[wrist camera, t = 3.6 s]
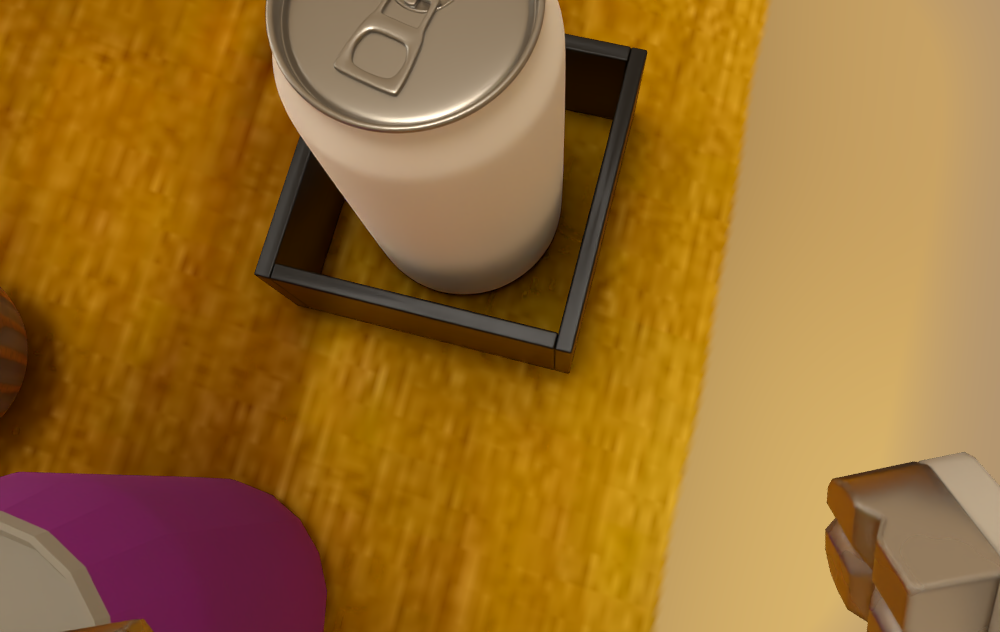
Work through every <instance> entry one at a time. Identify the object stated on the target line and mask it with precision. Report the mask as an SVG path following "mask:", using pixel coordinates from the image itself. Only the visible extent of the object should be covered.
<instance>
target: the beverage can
mask: <svg viewBox="0 0 1000 632" xmlns="http://www.w3.org/2000/svg"><path fill="white" fill-rule="evenodd" d="M326 598H327V589H326V584H325V580H324V575H323V570H322V565H321V560H320V556H319V552H318V550H317V549H316V547H315V545H314V543H313V542H312V540H311V538H310V536H309V535H308V533H307V531H306V529H305V528H304V526H303V524H302V522H301V521H300V519H299V518H297V517H296V516H295V515H294V514H293V513H292V512H291V511H290V510H288V509H287V508H286V507H285V506H284V505H283V504H282V503H281V502H279V501H278V500H277V499H276V498H275V497H274V496H273V495H270V494H268V493H265V492H263V491H260V490H258V489H255V488H253V487H251V486H248V485H246V484H243V483H241V482H238V481H235V480H232V479H219V478H200V477H172V476H138V475H105V474H72V473H38V472H17V473H13V474H9V475H6V476H2V477H0V632H63V631H69V630H75V629H81V628H87V627H92V626H98V625H104V624H110V623H116V622H122V621H127V620H134V619H144V620H145V621H146V622H147V623H148V625H149V626H150V627H151V629H152V630H153V631H154V632H323V631H324V620H325V609H326Z"/></svg>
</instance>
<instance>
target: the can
mask: <svg viewBox="0 0 1000 632" xmlns="http://www.w3.org/2000/svg"><path fill="white" fill-rule="evenodd" d="M265 15H266V29H267V35H268V40H269V44H270V47H271V50H272V58H273V70H274V77H275V82H276V86H277V89H278V92H279V95H280V98H281V100H282V103H283V105H284V107H285V109H286V112H287V114H288V116H289V118H290V119H291V121H292V123H293V124H294V126H295V128H296V129H297V131H298V132H299V134H300V135H301V137H302V138H303V140H304V141H305V143H306V144H307V146H308V147H309V149H310V150H311V151H312V153H313V154H314V156H315V157H316V159H317V160H318V161H319V163H320V164H321V166H322V167H323V168H324V170H325V171H326V173H327V174H328V175H329V177H330V178H331V180H332V181H333V182H334V184H335V185H336V187H337V188H338V189H339V191H340V192H341V194H342V195H343V196H344V198H345V199H346V201H347V202H348V203H349V205H350V206H351V207H352V209H353V210H354V212H355V213H356V214H357V216H358V217H359V218H360V220H361V221H362V223H363V224H364V225H365V227H366V228H367V229H368V231H369V232H370V234H371V235H372V236H373V238H374V239H375V240H376V242H377V243H378V244H379V246H380V247H381V248H382V250H383V251H384V252H385V254H386V255H387V256H388V257H389V259H390V260H391V261H392V262H393V263H394V264H395V265H396V266H397V267H398V268H399V269H400V270H401V271H402V272H403V273H404V274H406V275H407V276H408V277H410V278H411V279H413V280H414V281H416V282H418V283H420V284H422V285H424V286H426V287H428V288H431V289H434V290H437V291H441V292H446V293H452V294H476V293H482V292H487V291H491V290H494V289H497V288H500V287H502V286H505V285H507V284H509V283H511V282H513V281H514V280H516V279H518V278H519V277H521V276H522V275H523V274H525V273H526V272H527V271H528V270H529V269H531V268H532V267H533V266H534V265H535V264H536V263H537V262H538V260H539V259H540V258H541V257H542V256H543V254H544V253H545V251H546V250H547V248H548V247H549V245H550V243H551V241H552V239H553V237H554V235H555V232H556V229H557V226H558V222H559V218H560V213H561V204H562V186H563V156H564V118H565V34H564V26H563V20H562V15H561V10H560V7H559V3H558V0H266V13H265Z"/></svg>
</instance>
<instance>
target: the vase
mask: <svg viewBox="0 0 1000 632" xmlns="http://www.w3.org/2000/svg"><path fill="white" fill-rule="evenodd" d="M27 359H28V343H27V335H26V331H25V327H24V324H23V321H22V318H21V316H20V314H19V312H18V310H17V309H16V307H15V305H14V304H13V302H12V301H11V299H10V298H9V296H8V295H7V294H6V293H5V291H4V290H3V289H2V288H1V287H0V418H1V417H2V416H3V415H4V414H5V412H6V411H7V410H8V408H9V407H10V405H11V404H12V402H13V401H14V399H15V397H16V396H17V394H18V392H19V390H20V387H21V385H22V382H23V379H24V376H25V372H26V367H27Z"/></svg>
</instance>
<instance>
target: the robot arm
mask: <svg viewBox="0 0 1000 632" xmlns="http://www.w3.org/2000/svg"><path fill="white" fill-rule="evenodd" d="M827 504H828V506H829V507H830V509H831V510H832V512H833V514H834V516H835V519H834V520H833V521H832V522H831V524H830V525H829V526H828V527H827V528H826V529H825V530H826V532H825V535H826V536H825V540H826V541H825V543H826V544H825V546H826V547H825V550H826V554H827V559H828V563H829V568H830V572H831V575H832V577H833V580H834V582H835V585H836V588H837V590H838V592H839V594H840V596H841V598H842V600H843V602H844V604H845V605H846V607H847V609H848V610H849V611H851V612H853V613H854V614H856V615H857V616H859V617H860V618H862V619H864V620H865V621H867V622H868V626H867V632H1000V486H999V485H998V484H997V482H996V481H995V480H994V479H993V478H992V477H991V475H990V474H989V473H988V472H987V471H986V470H985V469H984V467H983V466H982V465H981V464H980V463H979V462H978V461H977V459H976V458H975V457H973V456H971V455H969V454H967V453H966V452H962V453H957V454H952V455H947V456H942V457H937V458H932V459H927V460H922V461H919V462H910V463H905V464H900V465H896V466H891V467H886V468H882V469H877V470H872V471H867V472H863V473H858V474H853V475H848V476H844V477H839V478H834V479H832V480H831V482H830V484H829V486H828V493H827ZM63 632H154V631H153V630H152V629H151V627H150V626H149V625H148V623H147V622H146V621H145V620H144V619H134V620H127V621H122V622H116V623H110V624H104V625H98V626H92V627H87V628H81V629H75V630H69V631H63Z"/></svg>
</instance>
